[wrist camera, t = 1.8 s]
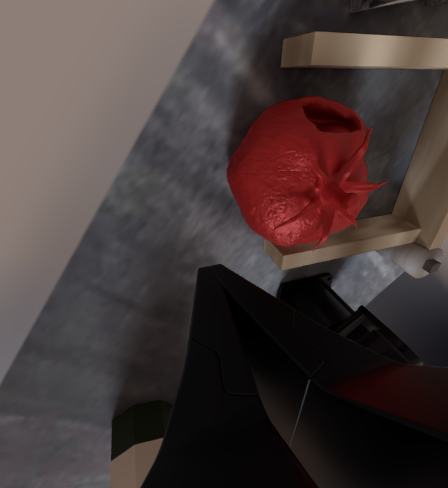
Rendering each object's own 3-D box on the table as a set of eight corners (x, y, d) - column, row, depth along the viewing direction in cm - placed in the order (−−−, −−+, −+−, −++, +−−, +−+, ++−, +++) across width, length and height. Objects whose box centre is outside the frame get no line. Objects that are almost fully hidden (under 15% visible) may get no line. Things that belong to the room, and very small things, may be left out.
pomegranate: (266, 237, 25) (326, 307, 18) (190, 167, 19) (232, 228, 12) (348, 159, 23) (453, 201, 16) (291, 55, 18) (414, 47, 10)
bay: (475, 47, 22) (572, 39, 17) (394, 249, 32) (440, 278, 27) (283, 39, 17) (344, 24, 12) (260, 278, 27) (289, 319, 23)
